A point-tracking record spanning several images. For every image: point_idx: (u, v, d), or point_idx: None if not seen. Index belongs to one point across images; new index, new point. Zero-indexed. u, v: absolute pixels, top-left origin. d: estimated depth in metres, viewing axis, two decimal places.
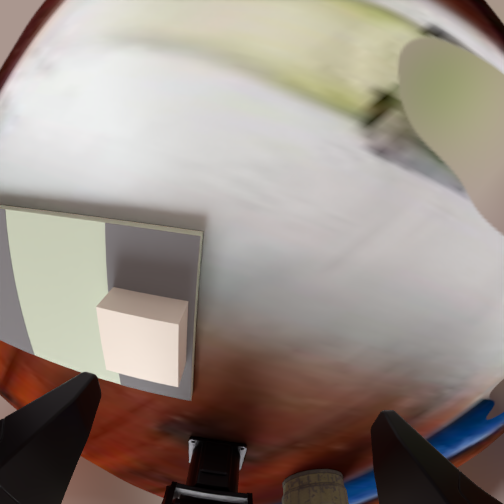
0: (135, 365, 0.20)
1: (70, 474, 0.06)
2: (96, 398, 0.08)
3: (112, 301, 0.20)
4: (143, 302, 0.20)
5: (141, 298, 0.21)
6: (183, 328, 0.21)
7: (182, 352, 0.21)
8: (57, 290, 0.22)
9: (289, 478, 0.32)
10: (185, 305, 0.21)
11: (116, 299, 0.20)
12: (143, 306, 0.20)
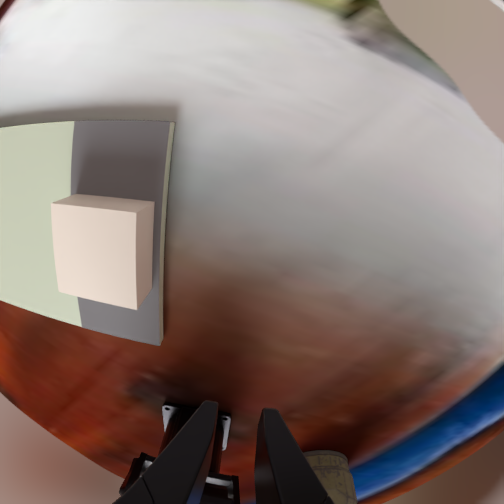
0: (88, 280, 0.17)
1: None
2: (215, 426, 0.08)
3: (70, 200, 0.16)
4: (104, 200, 0.17)
5: (102, 199, 0.17)
6: (145, 230, 0.17)
7: (144, 264, 0.18)
8: (22, 209, 0.19)
9: None
10: (149, 203, 0.18)
11: (75, 199, 0.17)
12: (102, 202, 0.16)
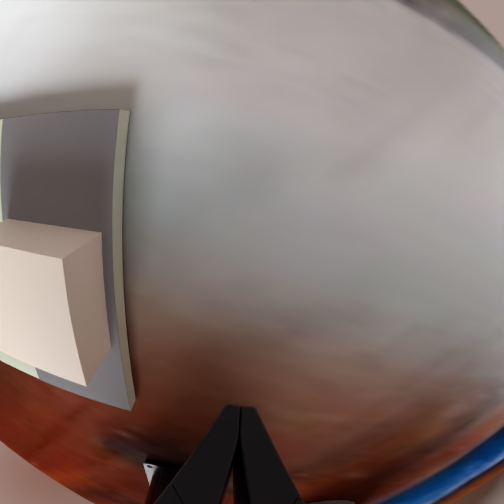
0: (23, 342, 0.10)
1: None
2: None
3: None
4: (32, 232, 0.10)
5: (33, 228, 0.11)
6: (87, 278, 0.11)
7: (91, 325, 0.11)
8: None
9: None
10: (92, 237, 0.11)
11: (0, 229, 0.10)
12: (27, 236, 0.10)
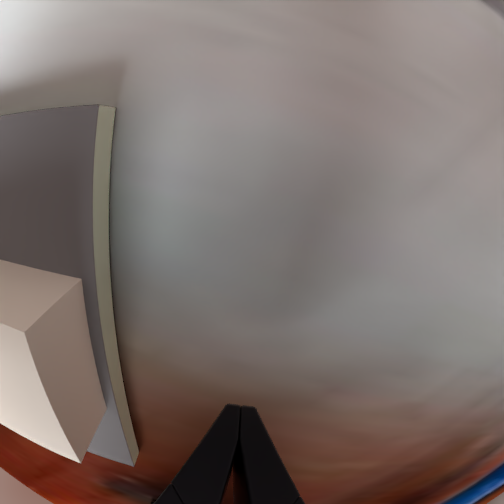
0: (0, 409, 0.07)
1: None
2: None
3: None
4: None
5: None
6: (66, 343, 0.07)
7: (78, 396, 0.08)
8: None
9: None
10: (68, 287, 0.08)
11: None
12: None
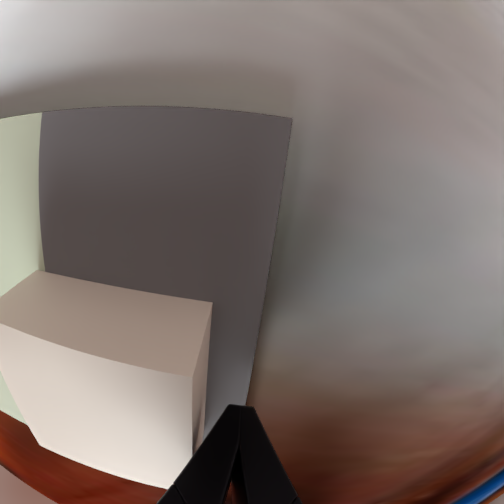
0: (91, 451, 0.07)
1: None
2: None
3: (20, 302, 0.06)
4: (94, 306, 0.07)
5: (90, 296, 0.07)
6: (202, 375, 0.07)
7: (199, 426, 0.08)
8: None
9: None
10: (205, 314, 0.08)
11: (31, 297, 0.07)
12: (90, 317, 0.07)
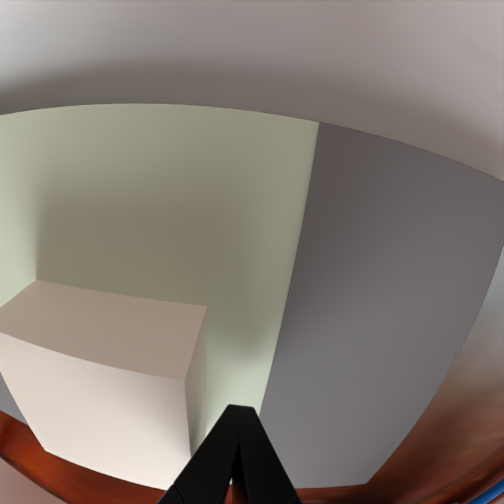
0: (94, 455, 0.07)
1: None
2: None
3: (19, 311, 0.07)
4: (91, 313, 0.07)
5: (87, 303, 0.08)
6: (198, 378, 0.08)
7: (199, 428, 0.08)
8: None
9: None
10: (199, 318, 0.08)
11: (31, 306, 0.07)
12: (87, 324, 0.07)
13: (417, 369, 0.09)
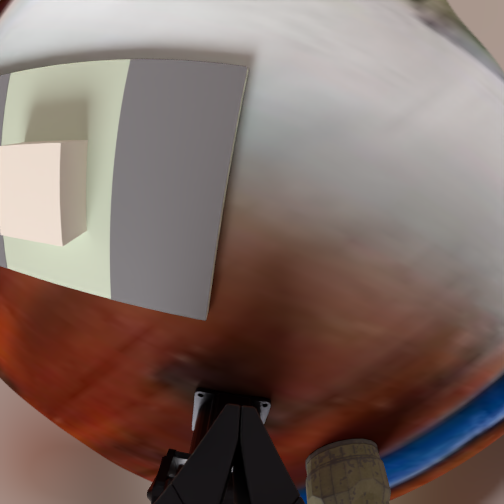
0: (23, 219, 0.15)
1: None
2: None
3: (14, 144, 0.14)
4: None
5: (42, 141, 0.15)
6: (75, 165, 0.15)
7: (73, 200, 0.16)
8: None
9: (316, 452, 0.27)
10: (81, 140, 0.15)
11: (19, 143, 0.14)
12: (39, 142, 0.14)
13: (196, 181, 0.17)
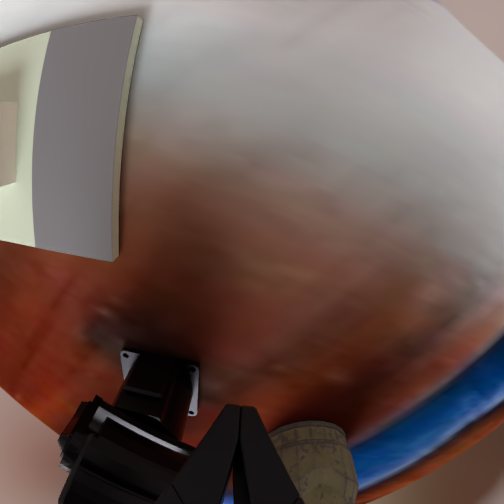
0: None
1: None
2: None
3: None
4: None
5: None
6: (4, 121, 0.14)
7: (1, 152, 0.14)
8: None
9: (269, 435, 0.25)
10: (12, 102, 0.14)
11: None
12: None
13: (95, 120, 0.15)
